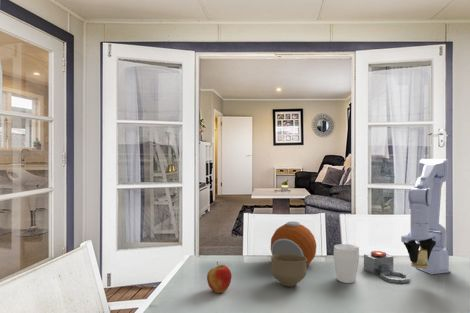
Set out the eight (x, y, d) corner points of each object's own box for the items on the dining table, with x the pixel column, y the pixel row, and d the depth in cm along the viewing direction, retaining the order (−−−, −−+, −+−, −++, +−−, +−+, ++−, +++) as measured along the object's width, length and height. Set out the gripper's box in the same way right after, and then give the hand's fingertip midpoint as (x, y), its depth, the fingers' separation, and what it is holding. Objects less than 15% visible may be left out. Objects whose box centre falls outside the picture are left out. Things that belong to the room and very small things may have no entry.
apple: (222, 298, 113) (222, 267, 113) (202, 293, 118) (202, 263, 118) (236, 290, 120) (236, 260, 120) (216, 285, 125) (216, 256, 125)
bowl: (309, 280, 129) (309, 253, 129) (304, 293, 117) (304, 263, 117) (275, 276, 133) (275, 250, 133) (267, 288, 121) (267, 259, 121)
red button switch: (378, 264, 147) (378, 248, 147) (415, 281, 128) (415, 262, 128) (358, 267, 144) (358, 249, 144) (393, 284, 125) (393, 264, 125)
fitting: (420, 263, 128) (420, 246, 128) (431, 267, 123) (431, 250, 122) (408, 264, 126) (408, 247, 126) (418, 269, 121) (418, 251, 121)
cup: (361, 285, 124) (361, 251, 124) (334, 283, 126) (334, 249, 126) (357, 276, 133) (357, 244, 133) (332, 274, 135) (332, 243, 135)
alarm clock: (322, 261, 151) (322, 221, 151) (308, 273, 136) (308, 228, 136) (280, 255, 161) (280, 217, 161) (263, 265, 146) (263, 223, 146)
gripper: (425, 219, 131) (425, 255, 131) (394, 221, 126) (394, 260, 126) (442, 222, 124) (442, 261, 124) (410, 225, 119) (410, 266, 119)
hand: (419, 261), depth 125 cm, fingers closed on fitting, 5 cm apart
